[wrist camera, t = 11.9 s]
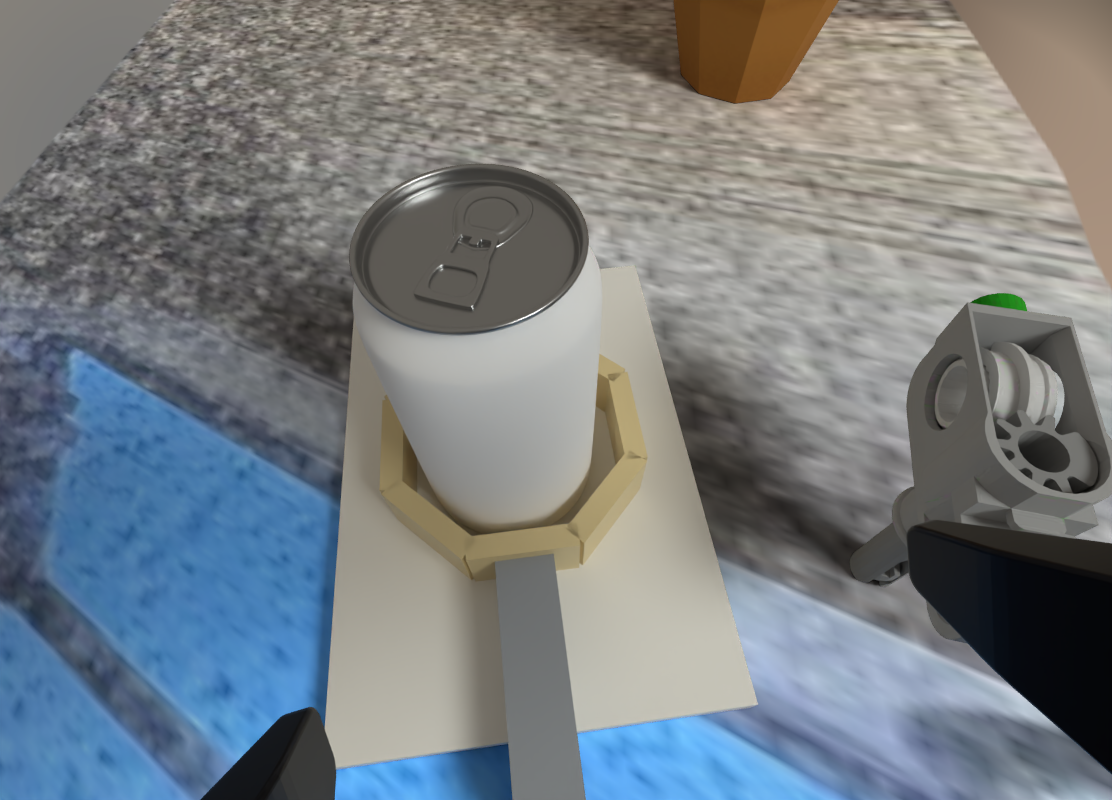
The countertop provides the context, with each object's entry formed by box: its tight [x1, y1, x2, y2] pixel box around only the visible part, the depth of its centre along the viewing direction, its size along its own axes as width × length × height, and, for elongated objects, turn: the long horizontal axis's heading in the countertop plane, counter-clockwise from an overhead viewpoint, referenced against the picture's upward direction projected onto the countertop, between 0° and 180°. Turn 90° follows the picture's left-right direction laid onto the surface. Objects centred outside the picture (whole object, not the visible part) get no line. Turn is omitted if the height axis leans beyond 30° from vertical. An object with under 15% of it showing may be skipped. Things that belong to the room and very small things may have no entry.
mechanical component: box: [850, 293, 1112, 643], centre depth 18 cm, size 3×10×10 cm, turn 167°
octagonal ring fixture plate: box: [325, 266, 758, 800], centre depth 23 cm, size 25×14×4 cm, turn 7°
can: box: [349, 164, 602, 534], centre depth 19 cm, size 6×6×12 cm
